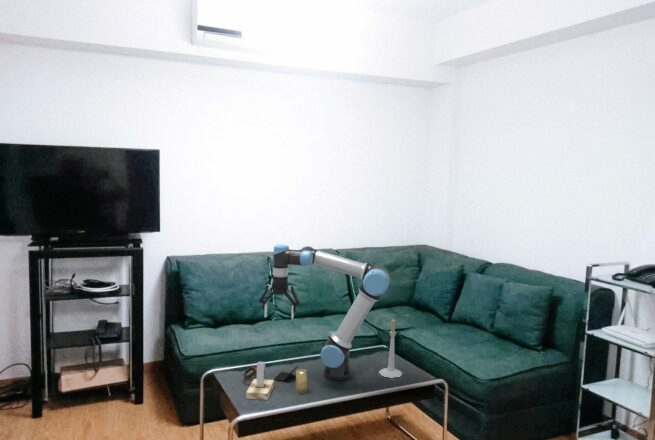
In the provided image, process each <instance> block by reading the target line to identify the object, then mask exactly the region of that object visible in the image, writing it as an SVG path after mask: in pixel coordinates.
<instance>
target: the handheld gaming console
mask: <svg viewBox="0 0 655 440" xmlns="http://www.w3.org/2000/svg"><path fill="white" fill-rule="evenodd" d="M297 368H298V365H297V366H296V367H294V368H293V370H291V371H290V372H288V371H287V372H286V371H281V372H279V373H278V374H277V375H276V376H275V377H274V378H273V380H274V382H280V383H286V381H287V380H288V379H290V377H291V376H292V375H293V373H294V371H296V370H297Z"/></svg>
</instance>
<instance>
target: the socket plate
mask: <svg viewBox="0 0 655 440" xmlns="http://www.w3.org/2000/svg"><path fill="white" fill-rule="evenodd" d="M256 383H257V378H253V379H252V380H251V383H250V385H249V387H248V389H247V390H246V393H245V399H247V400H261V401H268V400H269V398H270V395H271V393H272V391H273V389H274V386H275V381H274V379H266V378H265V388H256Z"/></svg>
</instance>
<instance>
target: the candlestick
mask: <svg viewBox="0 0 655 440" xmlns="http://www.w3.org/2000/svg"><path fill="white" fill-rule="evenodd" d="M390 324H391V325H390V331H389V335H390V341H389V342H390V343H389V344H390V345H389V350H388V351H389V353H388V362H387V367H385V368H382V369H380V370H379V372H378V374H379V373H380V374H381V375H382V376H384V377H389V378H394V377H400V376H401V375H402V373H403V372H402V371H401V370H399V369H397V368H396V367H395V365H396V364H395V336H396V334H397V332H396V331H395V330H396V319H394V318H393V319H391V323H390Z"/></svg>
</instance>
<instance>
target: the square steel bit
mask: <svg viewBox="0 0 655 440" xmlns="http://www.w3.org/2000/svg"><path fill="white" fill-rule="evenodd" d="M256 366H257V377H256V379H257V383H256V388H265V379H266V361H258V362H257V364H256Z"/></svg>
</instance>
